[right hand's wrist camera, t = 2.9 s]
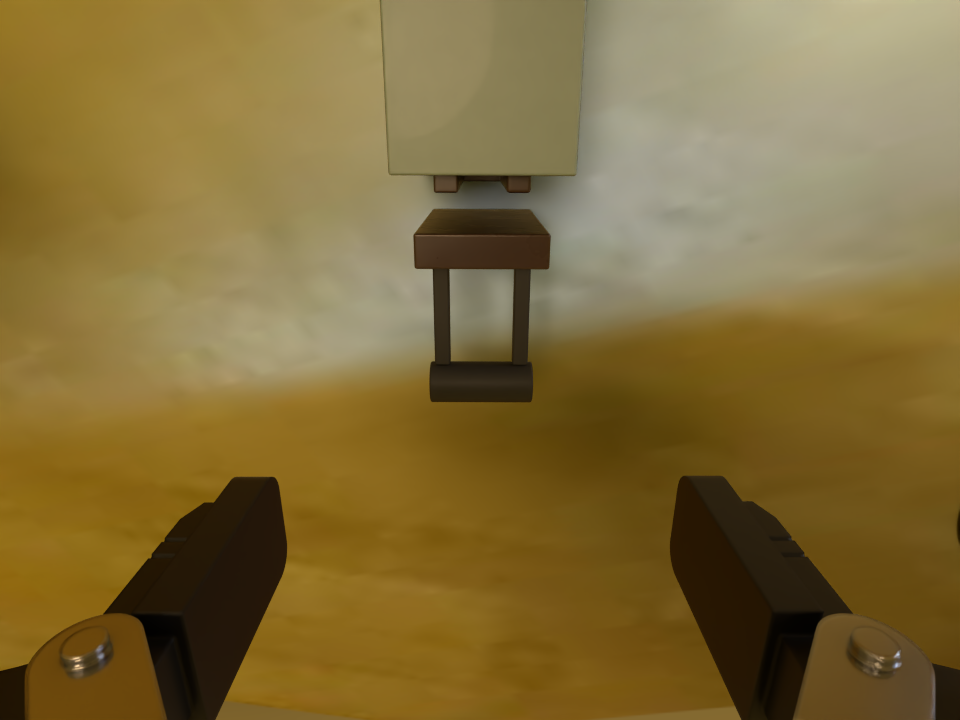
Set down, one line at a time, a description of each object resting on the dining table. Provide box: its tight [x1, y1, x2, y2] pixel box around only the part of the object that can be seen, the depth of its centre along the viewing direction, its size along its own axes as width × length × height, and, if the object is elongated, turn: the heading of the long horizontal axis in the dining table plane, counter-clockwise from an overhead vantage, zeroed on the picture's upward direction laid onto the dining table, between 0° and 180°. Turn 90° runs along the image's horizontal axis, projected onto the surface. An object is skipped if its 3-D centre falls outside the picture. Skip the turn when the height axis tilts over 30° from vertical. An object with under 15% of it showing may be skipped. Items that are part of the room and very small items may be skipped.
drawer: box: [414, 175, 551, 402], centre depth 21 cm, size 26×5×8 cm, turn 0°
